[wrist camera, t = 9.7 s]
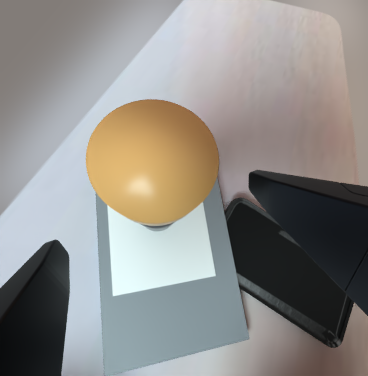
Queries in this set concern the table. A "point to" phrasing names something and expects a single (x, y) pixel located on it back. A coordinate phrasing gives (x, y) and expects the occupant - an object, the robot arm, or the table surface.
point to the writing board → (167, 287)
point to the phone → (285, 274)
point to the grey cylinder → (152, 162)
